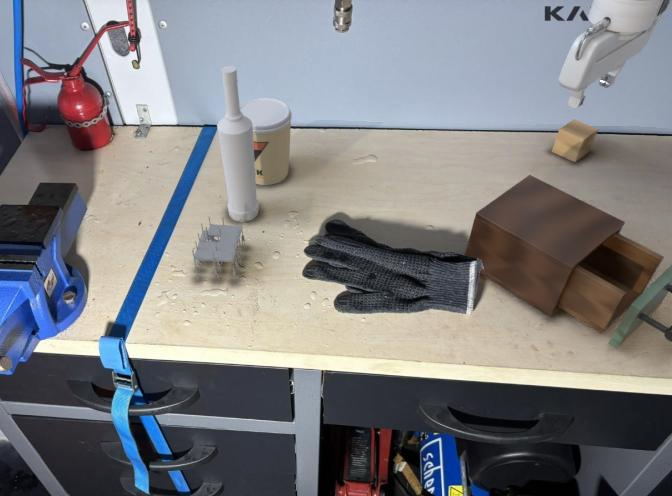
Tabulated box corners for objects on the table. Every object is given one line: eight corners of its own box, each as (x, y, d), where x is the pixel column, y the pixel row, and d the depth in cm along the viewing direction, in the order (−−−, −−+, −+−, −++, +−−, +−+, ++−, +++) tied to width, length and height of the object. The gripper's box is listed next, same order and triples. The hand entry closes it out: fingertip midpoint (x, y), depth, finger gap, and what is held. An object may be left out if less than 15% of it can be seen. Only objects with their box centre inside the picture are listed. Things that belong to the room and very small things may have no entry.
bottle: (258, 222, 98) (246, 77, 80) (227, 223, 99) (208, 79, 80) (259, 202, 102) (248, 59, 83) (229, 203, 102) (211, 60, 84)
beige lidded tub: (230, 171, 108) (223, 110, 99) (270, 150, 112) (267, 90, 103) (262, 195, 103) (257, 133, 94) (303, 173, 107) (303, 112, 98)
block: (565, 141, 109) (574, 119, 106) (589, 152, 107) (598, 129, 104) (551, 151, 108) (559, 129, 104) (574, 162, 105) (583, 139, 102)
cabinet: (599, 272, 87) (625, 221, 80) (549, 317, 82) (572, 267, 75) (513, 224, 95) (529, 174, 88) (462, 262, 90) (475, 212, 83)
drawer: (697, 324, 79) (727, 283, 73) (653, 372, 74) (682, 332, 69) (570, 254, 89) (588, 212, 83) (524, 292, 84) (540, 251, 78)
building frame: (195, 280, 90) (190, 251, 86) (207, 244, 95) (202, 215, 91) (237, 283, 89) (233, 254, 85) (246, 246, 95) (242, 217, 90)
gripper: (606, 37, 83) (572, 126, 93) (677, -5, 91) (639, 81, 102) (564, 23, 86) (536, 111, 97) (637, -16, 95) (604, 68, 105)
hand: (590, 95), depth 99 cm, fingers open, 8 cm apart
